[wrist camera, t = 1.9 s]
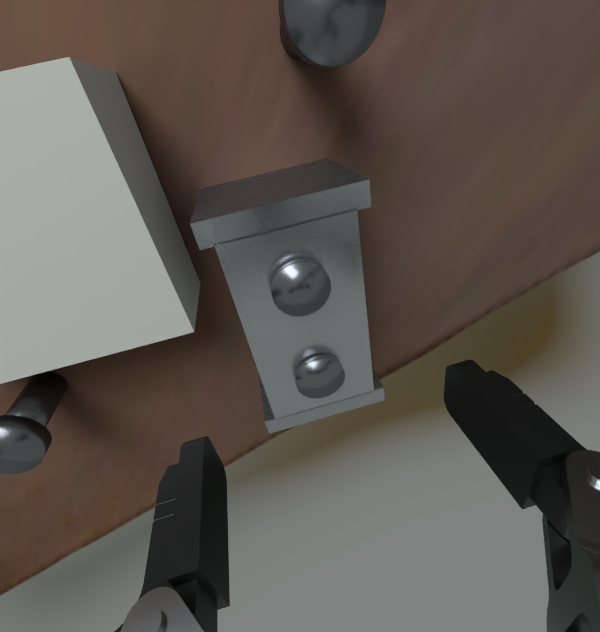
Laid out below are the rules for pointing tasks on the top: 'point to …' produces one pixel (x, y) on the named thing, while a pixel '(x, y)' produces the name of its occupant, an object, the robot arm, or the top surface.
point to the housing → (297, 285)
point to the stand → (82, 225)
